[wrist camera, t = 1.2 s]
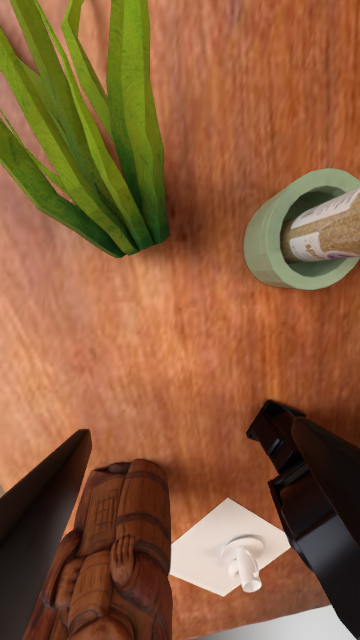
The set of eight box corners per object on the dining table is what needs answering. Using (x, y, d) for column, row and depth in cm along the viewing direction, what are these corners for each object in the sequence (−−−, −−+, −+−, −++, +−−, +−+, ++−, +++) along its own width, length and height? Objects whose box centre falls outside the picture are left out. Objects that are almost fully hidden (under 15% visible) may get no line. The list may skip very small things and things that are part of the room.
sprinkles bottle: (267, 267, 19) (473, 253, 6) (265, 222, 18) (515, 92, 5) (306, 261, 20) (585, 234, 7) (307, 216, 18) (650, 74, 5)
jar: (342, 221, 19) (394, 205, 15) (295, 299, 21) (329, 306, 17) (272, 175, 17) (307, 142, 13) (228, 265, 19) (246, 262, 15)
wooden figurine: (166, 454, 25) (169, 854, 8) (170, 486, 27) (180, 877, 9) (82, 465, 24) (-122, 934, 7) (91, 498, 26) (-57, 944, 9)
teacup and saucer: (237, 569, 33) (246, 608, 30) (208, 555, 32) (214, 595, 28) (271, 543, 32) (286, 581, 28) (243, 527, 31) (255, 565, 27)
